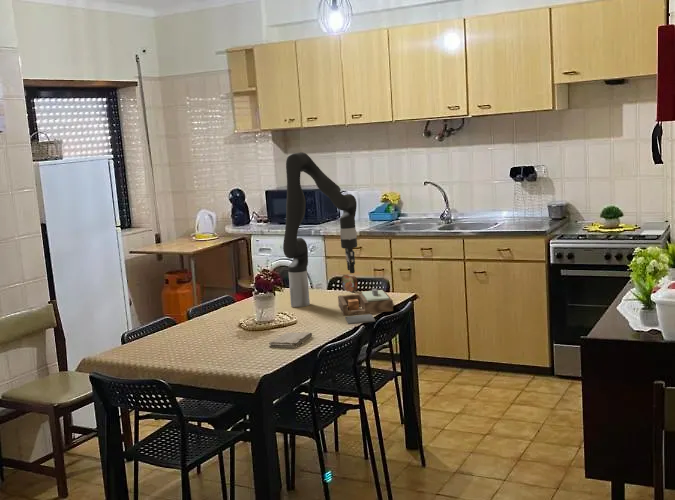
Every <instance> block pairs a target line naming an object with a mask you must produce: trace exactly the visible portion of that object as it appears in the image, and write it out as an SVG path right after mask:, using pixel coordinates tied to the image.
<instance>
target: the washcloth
mask: <svg viewBox="0 0 675 500" xmlns="http://www.w3.org/2000/svg"><path fill="white" fill-rule="evenodd" d="M312 336H313V334H312V332H305V331H303V332H294V331H293V332H290V331H289V332H288V331H287V332H285V333H283V334H281V335H279V336H278V337H276V338H275V339H273V340H271V341H270V342H269V344H268V345H269V346H268V348H274V349H290V348H291V349H295V348H297V347H299V346H300V344H301V343H302V342H304V341H305V342H307V341H308V340H310V339H311V338H312ZM306 340H307V341H306ZM305 342H304V343H305ZM302 344H303V343H302ZM302 344H301V345H302ZM298 345H299V346H298ZM296 346H297V347H296ZM294 347H295V348H294Z"/></svg>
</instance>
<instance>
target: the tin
mask: <svg viewBox="0 0 675 500" xmlns="http://www.w3.org/2000/svg"><path fill="white" fill-rule="evenodd" d="M341 286H342V289H343V290H344V291H347V292H350V293H352V292H356V291H357V290H358V278H357V277H356V276H355V275H352V274H343V275H342V276H341Z"/></svg>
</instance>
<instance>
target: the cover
mask: <svg viewBox="0 0 675 500" xmlns="http://www.w3.org/2000/svg"><path fill="white" fill-rule="evenodd" d="M361 294H363V296H364V297H365V298H366V300H367V301H368V302H369V301H379V300H389V297H390V296H389V295H388V294H387V295H388V296H389V297H388V296H387V295H386V294H385V293H384V290H383V289H377V288H371V290H367V291H361Z"/></svg>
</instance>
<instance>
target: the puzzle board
mask: <svg viewBox="0 0 675 500" xmlns="http://www.w3.org/2000/svg"><path fill="white" fill-rule="evenodd" d="M383 291H384V290H383ZM384 293H385V294H386V295H387V296H388V297H389V300H379V301H369V302H368V301H367V300H366V298H365V297H364V296H363V294H362V293H354V294H344V295H338V296H337V300H338V307H339V310H340V311H341V312H342V313H341V314H342V315H343V316H344V317H347V316H357V315H368V314H375V313H384V312H385V313H386V312H394V302H393V301H394V300H393V299H392V298H391V297H390V296H389V294H388V293H387V292H386V291H384ZM352 299H358V301H359V307H360V308H361V307H362V308H361V309H359V310H351V311H349V309H348V300H352Z"/></svg>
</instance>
